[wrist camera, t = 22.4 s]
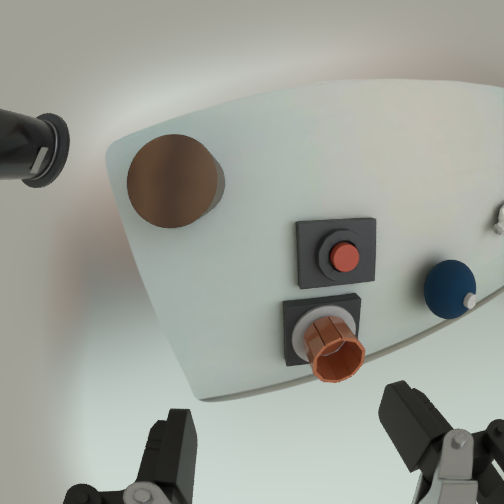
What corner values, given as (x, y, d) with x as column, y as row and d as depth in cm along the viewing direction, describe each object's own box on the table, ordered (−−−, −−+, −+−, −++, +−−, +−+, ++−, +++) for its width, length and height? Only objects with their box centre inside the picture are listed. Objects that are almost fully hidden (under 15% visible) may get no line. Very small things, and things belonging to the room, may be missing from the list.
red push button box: (298, 285, 35) (302, 293, 32) (295, 221, 33) (300, 224, 30) (369, 277, 35) (379, 284, 32) (370, 217, 33) (381, 220, 30)
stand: (162, 220, 32) (131, 232, 23) (156, 155, 31) (124, 142, 21) (227, 213, 33) (221, 223, 23) (222, 146, 31) (214, 128, 21)
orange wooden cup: (302, 359, 34) (312, 387, 28) (302, 317, 33) (313, 341, 27) (345, 352, 34) (361, 377, 29) (349, 311, 33) (367, 333, 27)
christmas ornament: (427, 315, 37) (464, 344, 27) (404, 283, 35) (445, 310, 26) (458, 277, 36) (498, 298, 26) (439, 242, 34) (484, 258, 25)
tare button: (330, 270, 32) (333, 273, 30) (329, 243, 31) (333, 245, 30) (354, 267, 32) (359, 270, 31) (355, 241, 31) (359, 243, 30)
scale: (284, 358, 37) (287, 369, 35) (282, 301, 35) (286, 309, 33) (351, 349, 37) (357, 358, 35) (355, 292, 35) (363, 300, 33)
